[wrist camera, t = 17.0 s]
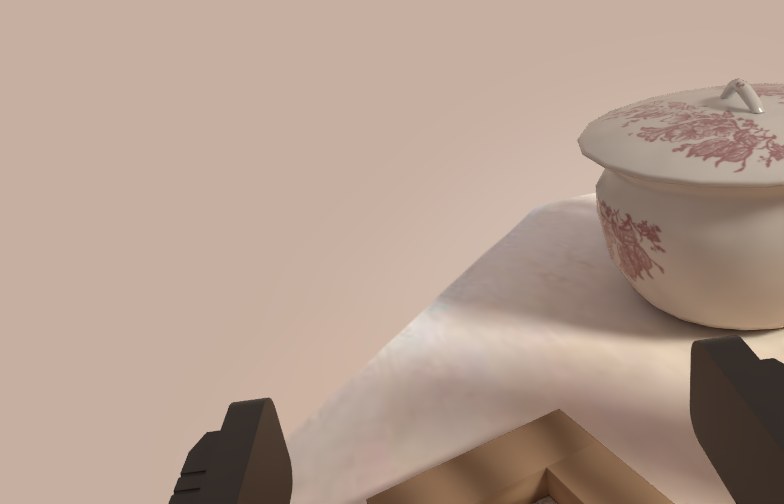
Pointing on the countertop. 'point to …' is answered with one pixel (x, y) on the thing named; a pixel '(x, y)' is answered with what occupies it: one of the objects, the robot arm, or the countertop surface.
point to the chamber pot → (697, 201)
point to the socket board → (530, 471)
